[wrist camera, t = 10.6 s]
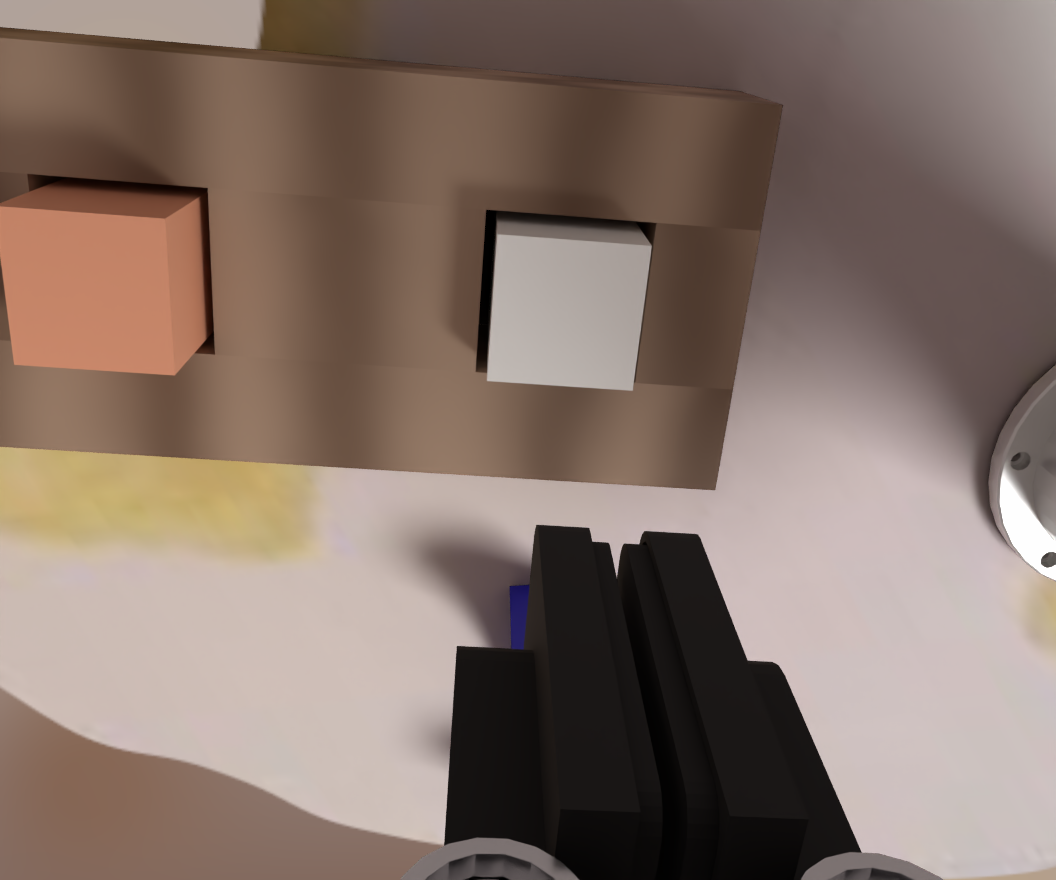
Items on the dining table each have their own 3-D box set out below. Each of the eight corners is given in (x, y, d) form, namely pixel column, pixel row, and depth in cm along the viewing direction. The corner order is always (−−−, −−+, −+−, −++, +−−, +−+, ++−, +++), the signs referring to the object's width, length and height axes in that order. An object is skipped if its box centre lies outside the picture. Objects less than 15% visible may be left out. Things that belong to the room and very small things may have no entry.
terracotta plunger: (226, 179, 37) (165, 218, 30) (231, 310, 39) (174, 375, 32) (88, 168, 36) (-7, 205, 29) (100, 301, 38) (14, 364, 31)
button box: (740, 91, 38) (782, 105, 32) (686, 429, 43) (715, 490, 38) (-17, 25, 36) (-109, 28, 30) (28, 386, 42) (-43, 444, 36)
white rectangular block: (623, 204, 39) (651, 246, 32) (609, 326, 41) (632, 390, 34) (496, 194, 39) (497, 234, 32) (488, 318, 41) (486, 381, 34)
